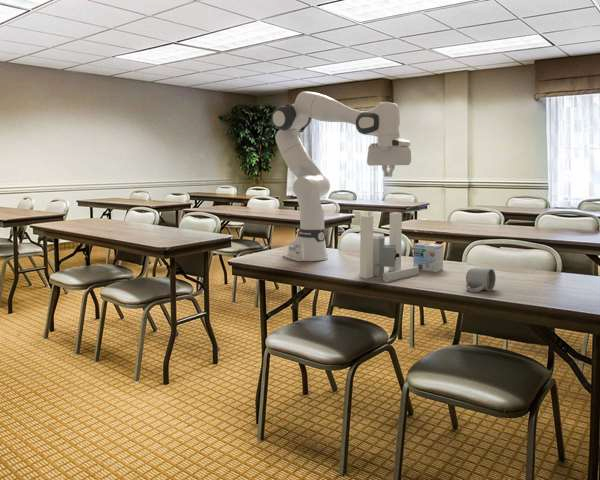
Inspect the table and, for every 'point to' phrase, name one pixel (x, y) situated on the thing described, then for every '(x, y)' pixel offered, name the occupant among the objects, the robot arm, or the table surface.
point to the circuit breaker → (382, 255)
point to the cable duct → (400, 273)
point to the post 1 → (366, 246)
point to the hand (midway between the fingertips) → (388, 176)
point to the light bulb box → (428, 256)
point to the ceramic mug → (480, 279)
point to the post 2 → (396, 237)
